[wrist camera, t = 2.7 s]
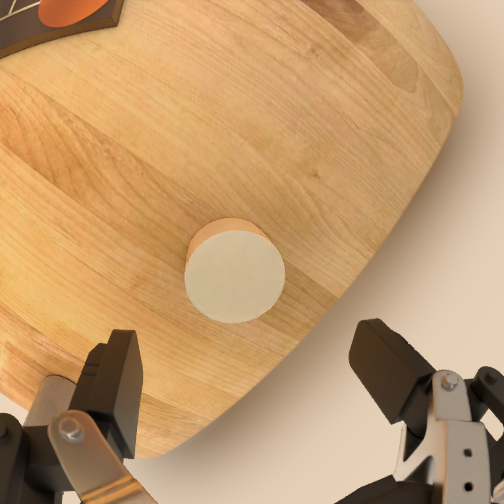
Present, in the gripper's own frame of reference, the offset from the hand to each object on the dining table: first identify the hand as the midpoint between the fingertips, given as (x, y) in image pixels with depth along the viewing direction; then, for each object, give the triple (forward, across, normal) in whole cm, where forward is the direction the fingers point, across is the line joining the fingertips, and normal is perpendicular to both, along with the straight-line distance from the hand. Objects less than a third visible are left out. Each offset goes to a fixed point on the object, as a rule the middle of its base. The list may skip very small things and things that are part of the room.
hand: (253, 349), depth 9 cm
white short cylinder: (+9, 0, 0) cm, 9 cm away
